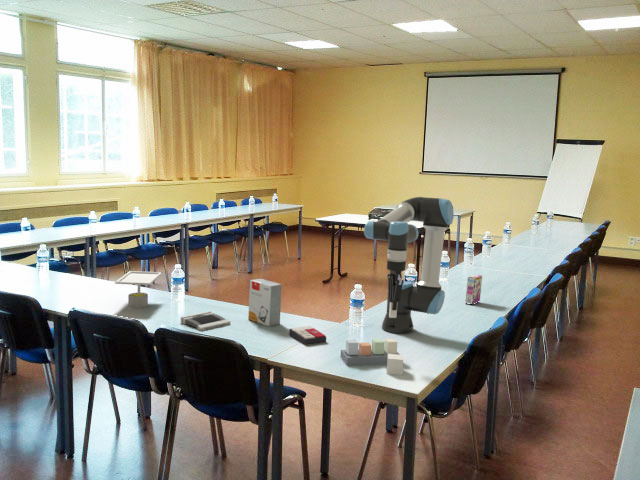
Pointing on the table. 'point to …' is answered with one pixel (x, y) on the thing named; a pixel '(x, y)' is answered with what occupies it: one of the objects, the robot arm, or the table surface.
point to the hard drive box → (264, 302)
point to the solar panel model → (138, 279)
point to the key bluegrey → (351, 347)
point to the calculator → (307, 335)
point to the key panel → (364, 358)
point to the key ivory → (390, 346)
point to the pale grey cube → (395, 364)
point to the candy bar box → (473, 289)
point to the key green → (378, 346)
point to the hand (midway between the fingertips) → (392, 317)
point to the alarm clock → (205, 321)
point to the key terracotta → (364, 349)
